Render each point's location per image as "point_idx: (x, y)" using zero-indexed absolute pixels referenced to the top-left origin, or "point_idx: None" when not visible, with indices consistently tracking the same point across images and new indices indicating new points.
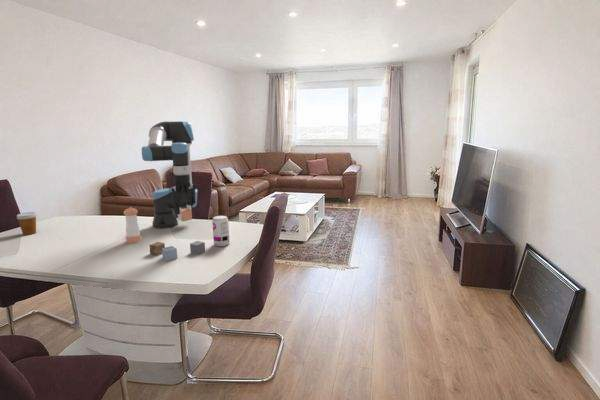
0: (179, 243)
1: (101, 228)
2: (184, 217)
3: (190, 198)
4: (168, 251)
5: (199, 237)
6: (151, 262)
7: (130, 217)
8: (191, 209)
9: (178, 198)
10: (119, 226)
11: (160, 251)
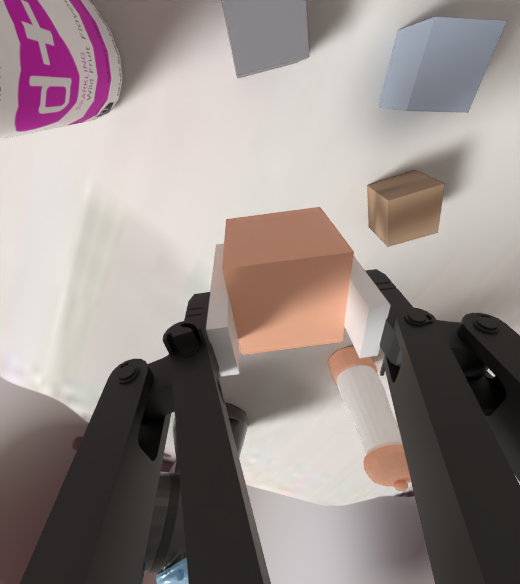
0: None
1: (333, 453)
2: (316, 222)
3: (190, 451)
4: (486, 21)
5: (156, 269)
6: (502, 88)
7: (398, 436)
8: (201, 306)
9: (500, 474)
10: (301, 450)
11: (400, 180)
